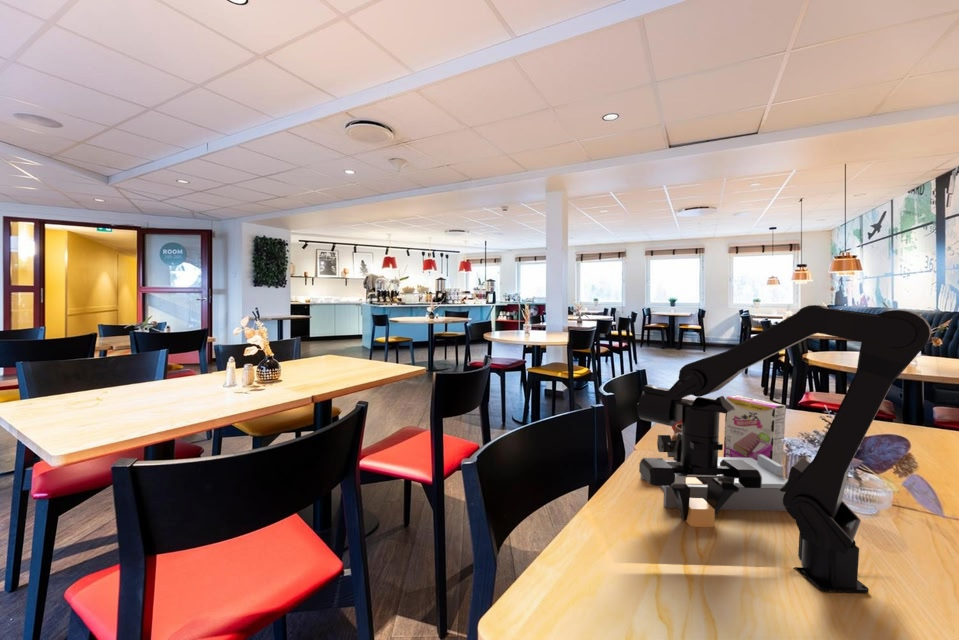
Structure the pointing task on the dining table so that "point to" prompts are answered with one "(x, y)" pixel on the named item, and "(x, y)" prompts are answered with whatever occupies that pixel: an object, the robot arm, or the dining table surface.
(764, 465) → the lid
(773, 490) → the housing
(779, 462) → the candy bar box
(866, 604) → the dining table surface
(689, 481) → the orange block
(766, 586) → the dining table surface
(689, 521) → the orange cube
